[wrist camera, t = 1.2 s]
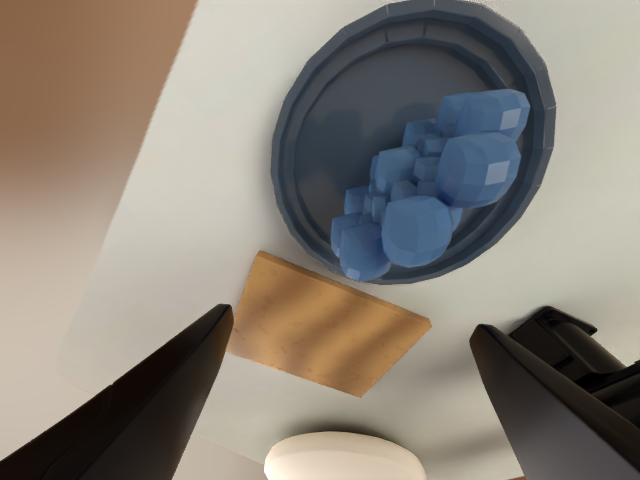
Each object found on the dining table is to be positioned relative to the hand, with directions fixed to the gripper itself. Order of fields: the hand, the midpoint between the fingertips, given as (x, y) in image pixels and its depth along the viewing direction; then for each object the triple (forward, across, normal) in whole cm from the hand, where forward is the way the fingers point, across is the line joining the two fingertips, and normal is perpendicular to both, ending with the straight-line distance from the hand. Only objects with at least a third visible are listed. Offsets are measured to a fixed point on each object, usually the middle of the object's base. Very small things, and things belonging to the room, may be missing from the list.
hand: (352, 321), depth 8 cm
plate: (+12, -6, +48) cm, 50 cm away
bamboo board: (+13, +1, +17) cm, 21 cm away
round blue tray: (+13, -4, -3) cm, 14 cm away
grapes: (+13, -4, -3) cm, 14 cm away
